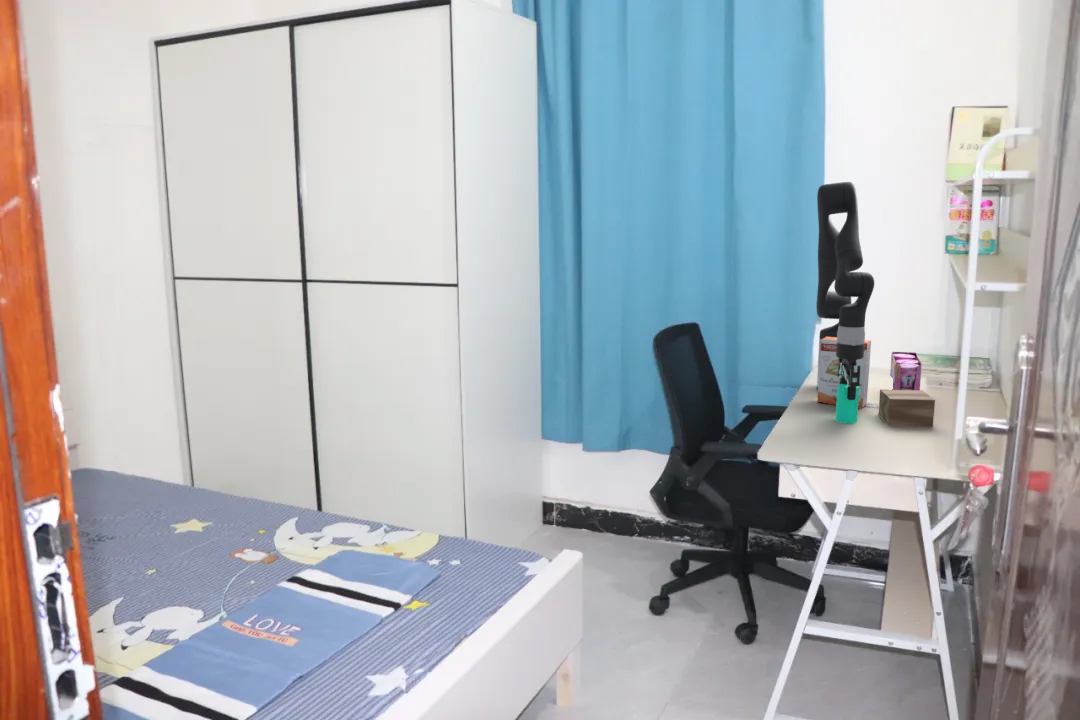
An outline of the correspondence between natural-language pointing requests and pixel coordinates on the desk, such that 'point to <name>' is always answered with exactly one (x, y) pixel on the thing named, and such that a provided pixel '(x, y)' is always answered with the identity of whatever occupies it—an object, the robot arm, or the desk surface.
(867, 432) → the desk surface
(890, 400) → the walnut block
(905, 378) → the gum box
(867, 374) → the cracker box
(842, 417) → the candle
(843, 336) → the robot arm
